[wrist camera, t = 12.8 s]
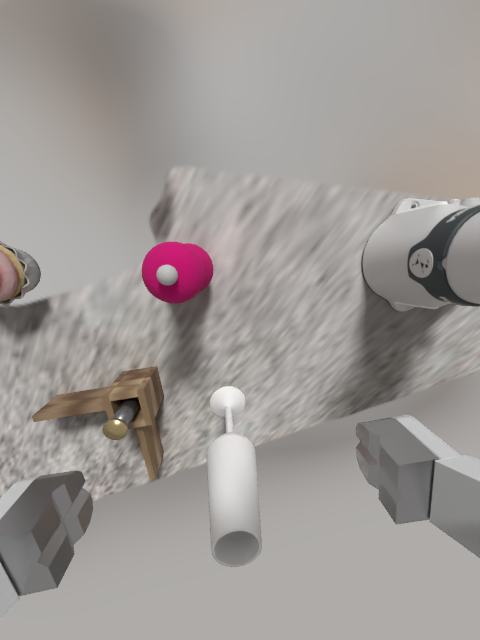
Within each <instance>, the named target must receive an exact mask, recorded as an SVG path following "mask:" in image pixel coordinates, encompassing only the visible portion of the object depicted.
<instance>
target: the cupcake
mask: <svg viewBox="0 0 480 640" xmlns="http://www.w3.org/2000/svg"><path fill="white" fill-rule="evenodd" d="M40 275H41V273H40V268H39V266H38V264H37V262H36V261H35V260H34V259H33V258H32V257H31V256H30V255H29V254H27V253H26V252H23V251H21V250H17V249H15V248H12V247H10V246H7V245H6V244H4V243H2V242H1V241H0V304H2V305H5V306H8V305H9V304H10V303H11V302H12V301H13V300H14V299H21V298H22V297H23V296H24V295H25V293H26V292H28V291H30V290H32V289H33V288H35V287H36V286H37V284H38V283H39V281H40Z"/></svg>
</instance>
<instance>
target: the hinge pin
mask: <svg viewBox="0 0 480 640" xmlns="http://www.w3.org/2000/svg"><path fill="white" fill-rule="evenodd" d="M139 406H140V403H139V399H138V397H134V398H128V399H125V400H124V402H123V403H122V405H121V406H120V407H119V409H118V410H117V412H116V413H115V415H114V416H113V418H112V419H110V420H108V421H107V422H106V424H105V425H104V427H103V432H104V434H105V436H106V437H108V438H109V439H112V440H119V439H122V438H123V437H124V436H125V435H126V433H127V431H128V425H129V423H130V422H131V420H132V418H133V416H134V415H135V413H136V411H137V409H138V407H139Z"/></svg>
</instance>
